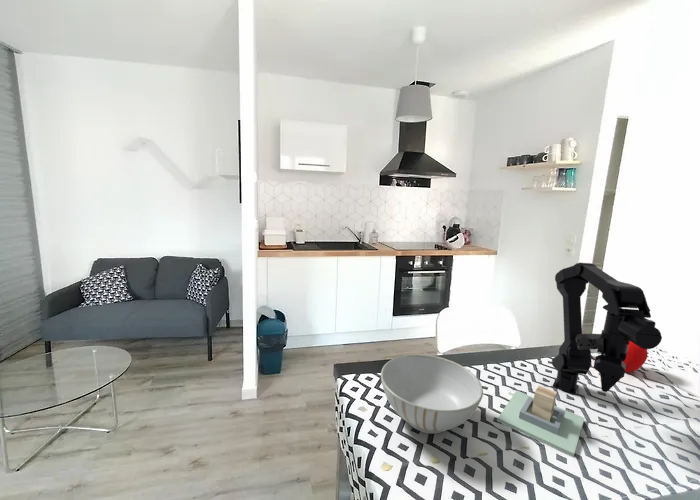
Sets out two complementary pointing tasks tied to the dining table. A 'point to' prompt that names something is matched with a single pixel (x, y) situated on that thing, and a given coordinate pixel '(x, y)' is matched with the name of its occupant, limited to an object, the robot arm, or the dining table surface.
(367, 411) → the dining table surface
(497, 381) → the dining table surface
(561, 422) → the socket board
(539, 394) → the birch peg
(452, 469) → the dining table surface
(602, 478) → the dining table surface
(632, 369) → the tomato
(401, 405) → the decorative bowl
